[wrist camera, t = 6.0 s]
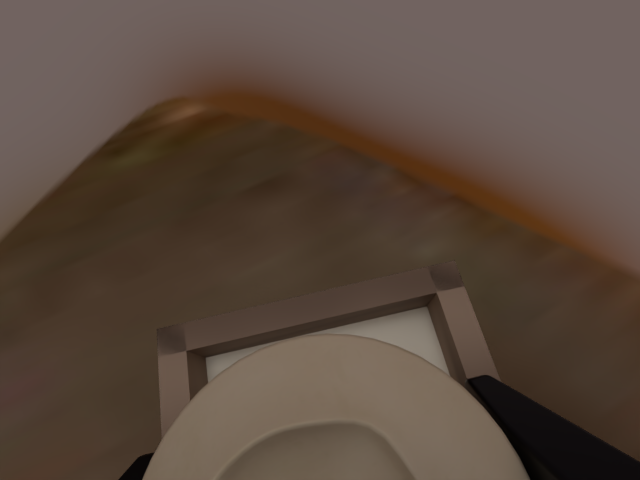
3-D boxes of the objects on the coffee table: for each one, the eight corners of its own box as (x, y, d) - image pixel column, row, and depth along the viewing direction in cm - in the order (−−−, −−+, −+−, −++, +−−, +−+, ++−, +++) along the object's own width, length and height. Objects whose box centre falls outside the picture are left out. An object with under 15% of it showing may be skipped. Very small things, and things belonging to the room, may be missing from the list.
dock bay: (548, 603, 13) (607, 659, 10) (217, 685, 13) (177, 769, 10) (436, 285, 17) (454, 260, 14) (190, 343, 17) (156, 329, 14)
